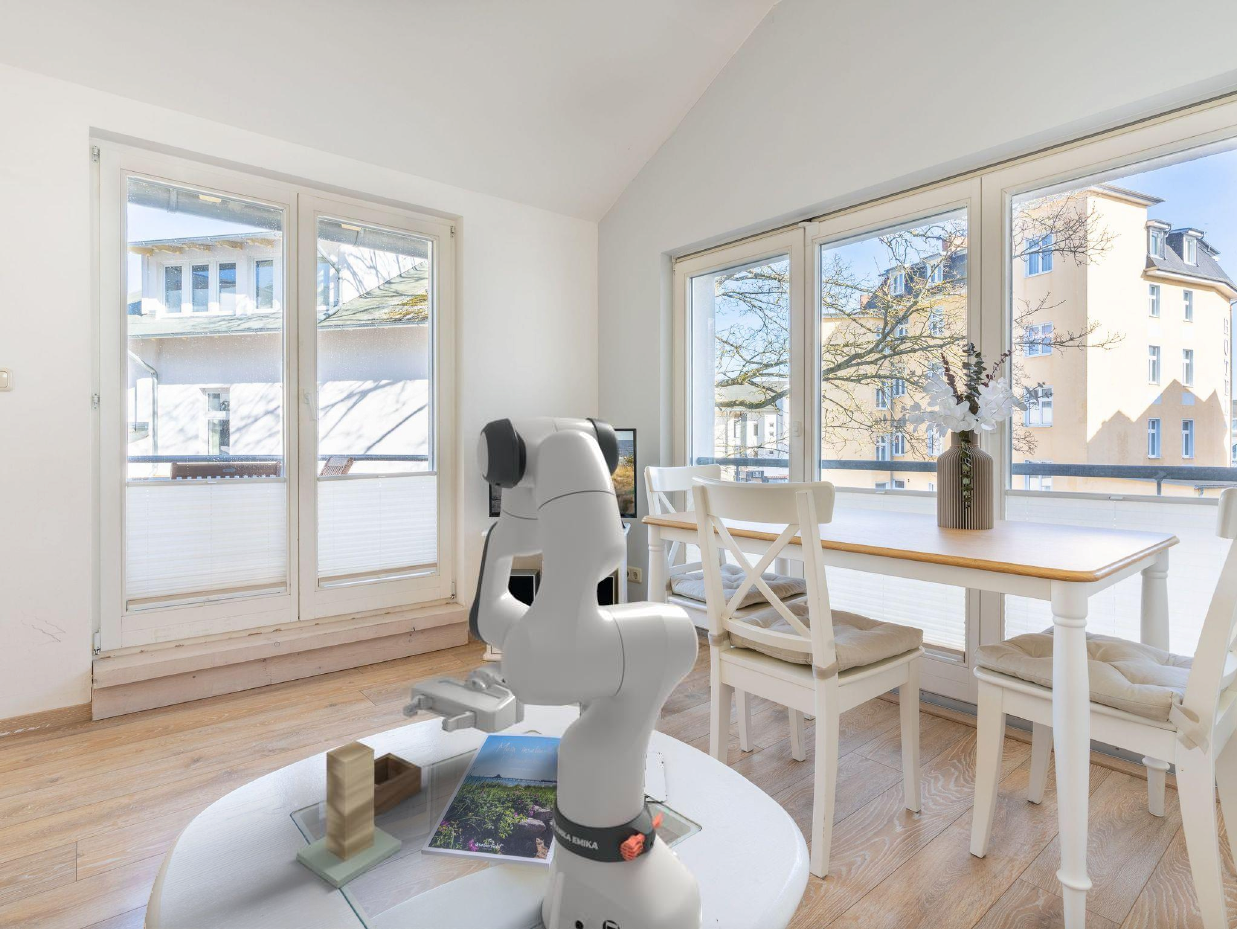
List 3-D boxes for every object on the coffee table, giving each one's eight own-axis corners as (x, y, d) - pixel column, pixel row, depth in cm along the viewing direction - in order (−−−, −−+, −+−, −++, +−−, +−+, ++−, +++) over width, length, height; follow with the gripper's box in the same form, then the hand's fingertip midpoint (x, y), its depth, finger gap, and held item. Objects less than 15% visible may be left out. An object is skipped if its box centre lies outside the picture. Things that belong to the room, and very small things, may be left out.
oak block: (373, 844, 91) (374, 749, 91) (345, 861, 88) (345, 762, 87) (355, 832, 94) (355, 740, 93) (326, 849, 90) (326, 752, 89)
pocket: (421, 790, 107) (421, 767, 107) (376, 815, 100) (376, 790, 100) (389, 774, 112) (389, 752, 111) (344, 797, 105) (344, 773, 104)
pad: (401, 848, 92) (401, 841, 92) (337, 888, 84) (337, 881, 84) (360, 823, 98) (360, 817, 98) (296, 858, 89) (296, 851, 89)
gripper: (448, 662, 119) (383, 685, 107) (530, 686, 107) (469, 714, 96) (448, 696, 119) (384, 722, 107) (530, 723, 107) (469, 756, 96)
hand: (424, 719), depth 101 cm, fingers open, 8 cm apart
